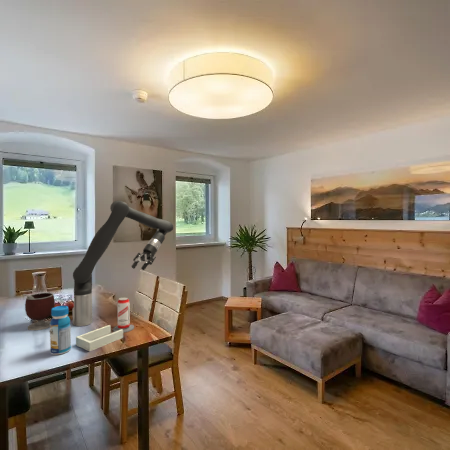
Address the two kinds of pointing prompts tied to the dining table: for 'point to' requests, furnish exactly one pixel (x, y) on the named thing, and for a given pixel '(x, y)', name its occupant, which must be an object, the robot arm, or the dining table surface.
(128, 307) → the beer can
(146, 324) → the dining table surface
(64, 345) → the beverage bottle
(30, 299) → the mate gourd
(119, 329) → the mat
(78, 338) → the cream open tray
